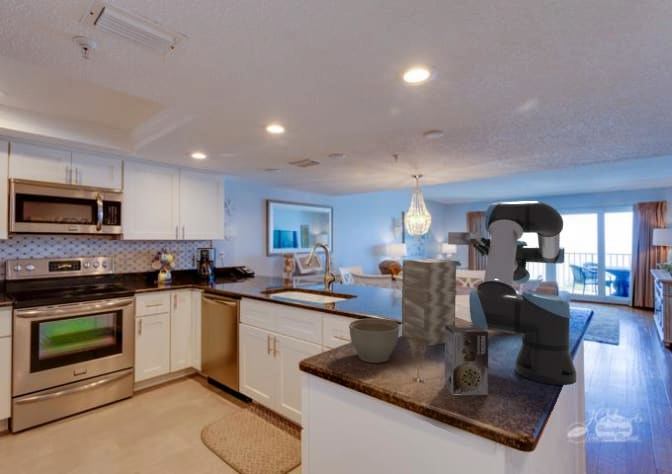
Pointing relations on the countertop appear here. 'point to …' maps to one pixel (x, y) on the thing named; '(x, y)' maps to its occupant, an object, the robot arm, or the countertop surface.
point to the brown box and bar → (461, 239)
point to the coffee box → (466, 359)
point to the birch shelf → (428, 299)
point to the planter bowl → (374, 338)
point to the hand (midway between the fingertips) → (472, 235)
